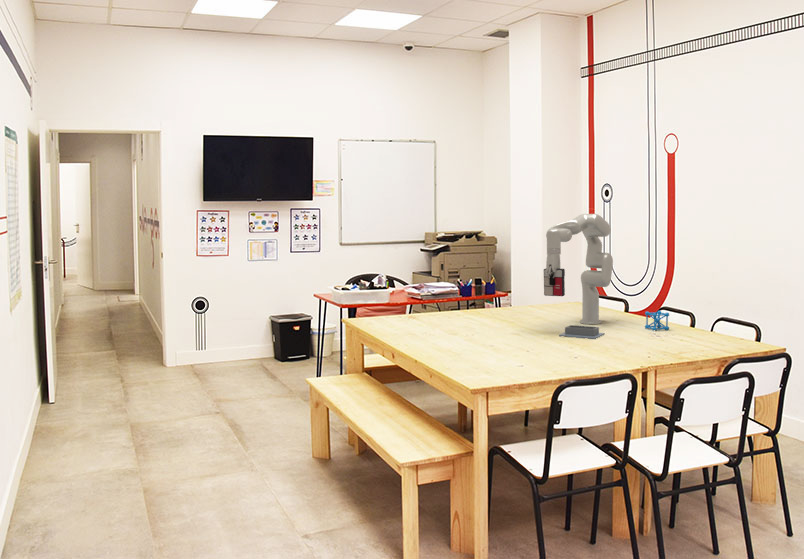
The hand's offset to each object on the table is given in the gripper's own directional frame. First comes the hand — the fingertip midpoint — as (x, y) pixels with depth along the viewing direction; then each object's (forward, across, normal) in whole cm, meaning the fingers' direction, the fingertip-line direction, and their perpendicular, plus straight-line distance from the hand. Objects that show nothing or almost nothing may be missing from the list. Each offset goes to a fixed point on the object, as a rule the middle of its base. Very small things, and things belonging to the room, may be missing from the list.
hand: (553, 284), depth 406 cm
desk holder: (+27, +2, +17) cm, 32 cm away
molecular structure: (+28, -34, +47) cm, 65 cm away
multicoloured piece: (+7, -1, 0) cm, 7 cm away
